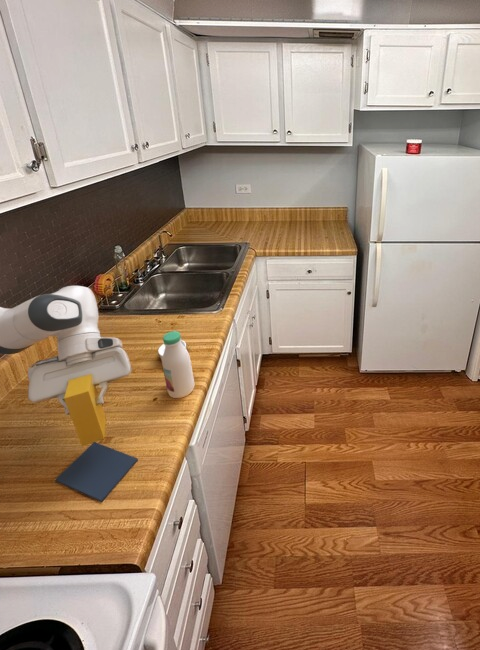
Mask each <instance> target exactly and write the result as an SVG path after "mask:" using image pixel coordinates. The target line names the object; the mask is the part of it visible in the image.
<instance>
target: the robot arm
mask: <svg viewBox="0 0 480 650" xmlns="http://www.w3.org/2000/svg"><path fill="white" fill-rule="evenodd" d="M99 315H100V314H99V309H98V303H97V299H96V296H95V294H94V292H93V290H92V289H91V288H90V287H87V286H83V285H66V286H64V287H61V288H60V289H58V290H57V291H55V292H52V293H44V294H40V295H36V296H35V297H32V298H30V299H28V300H26V301H24V302H21V303H20V304H18V305H16V306H14V307H11V308H8V307H7V308H6V307H2V306H0V354H2V355H15V354H18V353H22V352H23V351H25V350H27V349H29V348H30V347H32V346H33V345H35V344H37V343H40V342H42V341H44V340H46V339H49V338H50V337H55V338H56V339H57V340H56V342H57V345H56V346H57V355H56V356H52V357H49V358H46V359H45V358H44V359H40V360H37V361H35V362H34V363H33V364H31V365H30V366H29V368H28V369H27V379H28V380H29V384H28V391H27V394H28V395H27V398H28V401H30V402H31V403H34V404H37V403H42V402H45V401H49V400H52V399H55V398H57V400H58V402H59V403H60V405H62V406H63V407H64V414H65V416H69V415H70V413H69V410H68V408H67V405H66V402H65V400H64V397H65V393H66V389H67V385H68V381H69V380H71V379H75V378H78V377H82V376H85V375H89V374H92V381H93V385H95V387H97V386H99V389H101V391H100V393H99V394H98V396H99V397H96V398H95V401H96V406H97V405H104V404H105V396H106V392H107V390H108V389H109V383H110V382H115V381H117V380H121V379H124V378H128V377H129V376H131V374H132V372H133V371H132V365H131V360H130V358H129V355H128V353H127V352H126V350H125V349H123V341H122V340H121V339H120V338H118V337H110V336H108V337H106V336H102V335H101V331H100V329H99V320H100V319H99V318H100V317H99Z"/></svg>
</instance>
